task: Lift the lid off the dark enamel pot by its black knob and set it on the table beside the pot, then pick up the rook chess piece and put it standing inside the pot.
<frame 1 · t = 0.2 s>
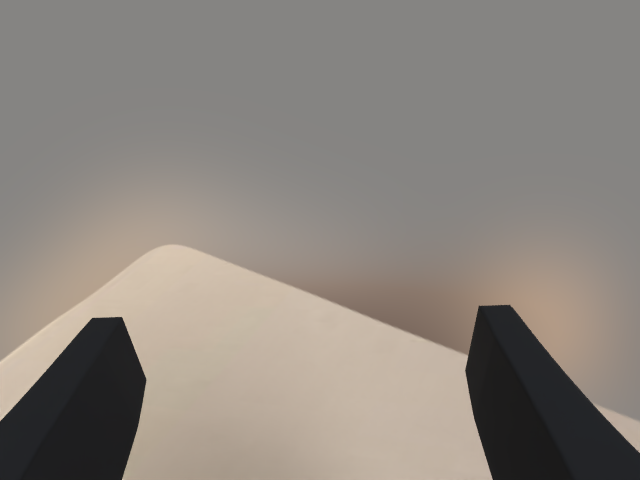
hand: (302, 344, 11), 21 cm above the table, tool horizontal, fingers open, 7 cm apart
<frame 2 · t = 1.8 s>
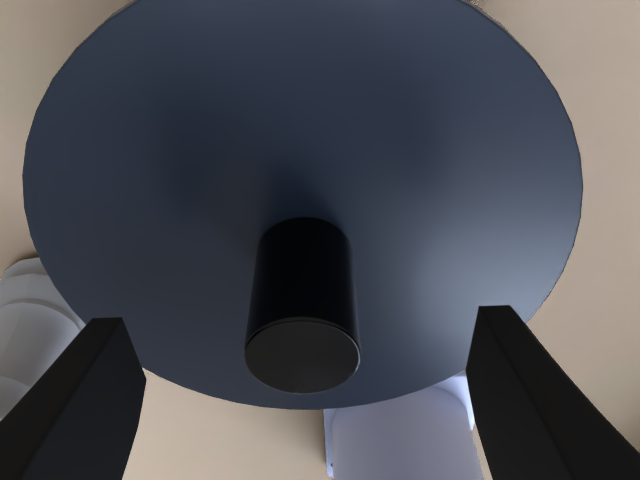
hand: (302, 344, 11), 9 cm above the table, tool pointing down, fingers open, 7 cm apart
rook chess piece: (62, 286, 23), on the table
pot lid: (305, 242, 14), point 6 cm above the table, touching pot
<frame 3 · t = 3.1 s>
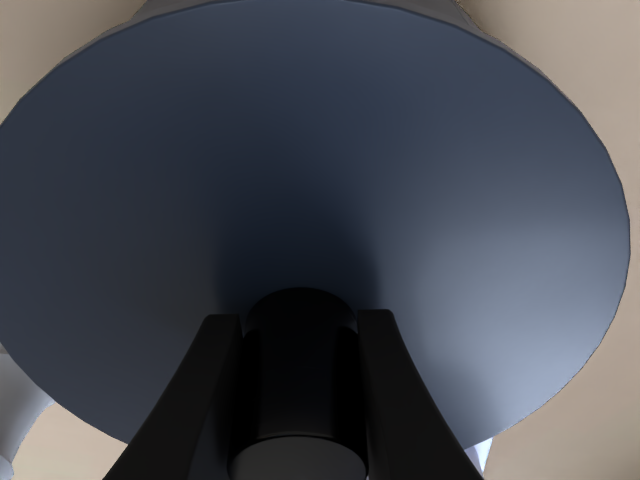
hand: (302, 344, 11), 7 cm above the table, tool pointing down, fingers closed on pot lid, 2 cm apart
rook chess piece: (39, 327, 21), on the table
pot: (306, 168, 17), on the table
pot lid: (302, 309, 12), point 6 cm above the table, touching gripper, pot
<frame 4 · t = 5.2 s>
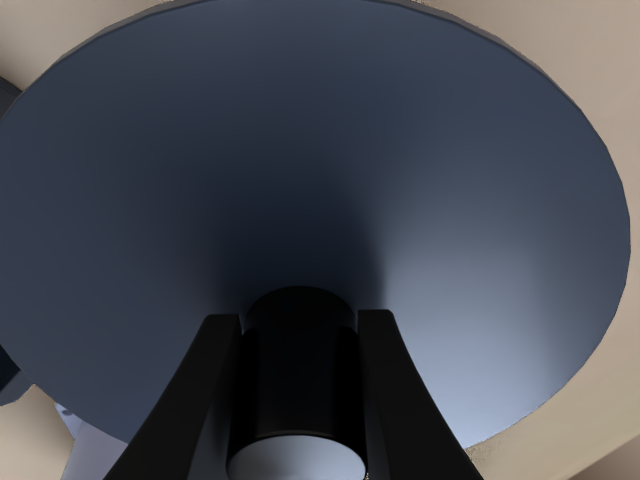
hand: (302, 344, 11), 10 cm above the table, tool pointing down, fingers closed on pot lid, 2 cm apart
pot lid: (301, 308, 12), point 9 cm above the table, touching gripper
when the fingers open (2 cm above the table, at t = 7.6 s): pot lid stays where it is, point 1 cm above the table.
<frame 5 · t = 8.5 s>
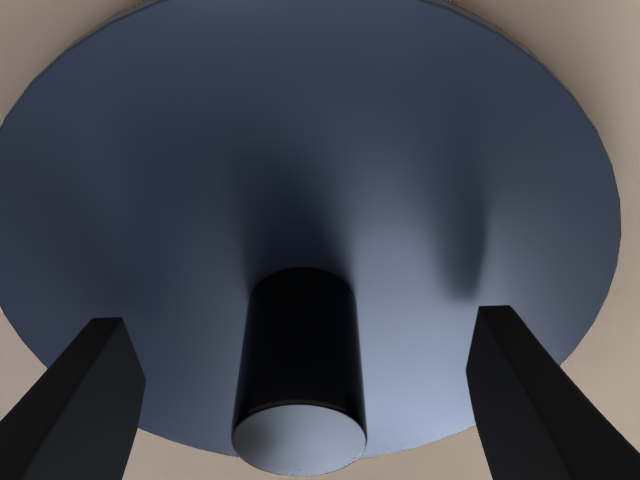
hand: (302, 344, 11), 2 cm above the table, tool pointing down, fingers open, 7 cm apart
pot lid: (303, 290, 12), point 1 cm above the table
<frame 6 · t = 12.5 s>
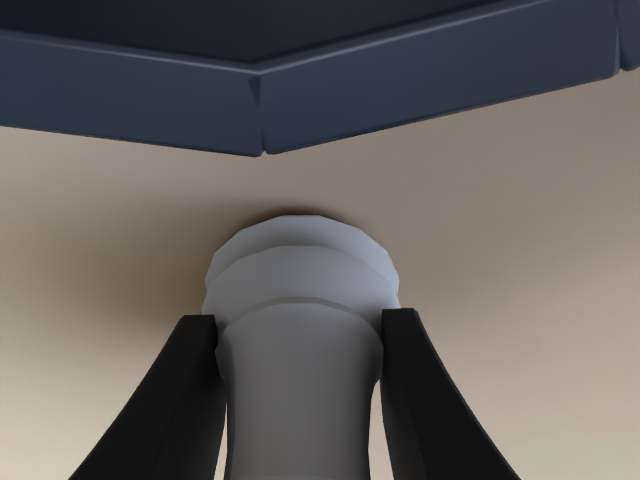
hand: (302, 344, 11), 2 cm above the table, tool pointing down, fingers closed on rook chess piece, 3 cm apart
rook chess piece: (303, 273, 13), on the table, touching gripper
when the fingers open (2 cm above the table, at t = 17.2 s): rook chess piece stays where it is, resting on pot.
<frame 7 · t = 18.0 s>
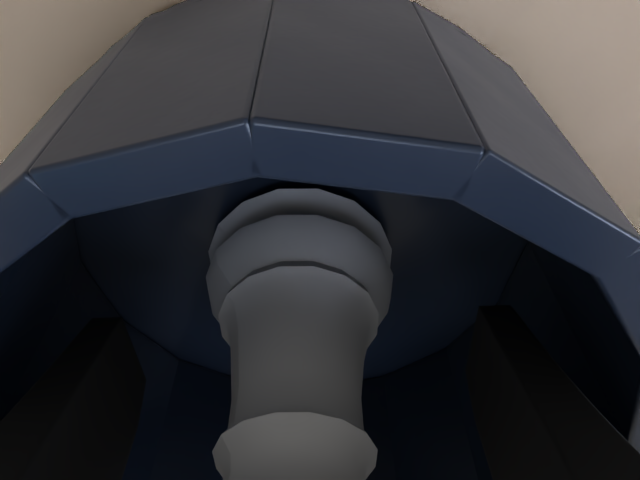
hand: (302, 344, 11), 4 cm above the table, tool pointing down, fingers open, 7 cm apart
rook chess piece: (301, 246, 14), resting on pot
pot: (302, 238, 14), on the table
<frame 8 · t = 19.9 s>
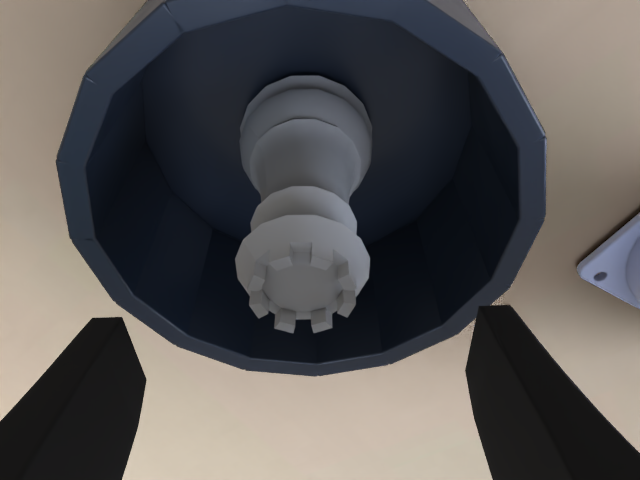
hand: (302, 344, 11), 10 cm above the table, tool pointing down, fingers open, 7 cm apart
rook chess piece: (306, 129, 19), resting on pot
pot: (307, 125, 19), on the table
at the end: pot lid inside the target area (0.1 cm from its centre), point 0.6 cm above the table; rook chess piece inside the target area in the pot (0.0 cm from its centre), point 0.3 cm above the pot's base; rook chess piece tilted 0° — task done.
